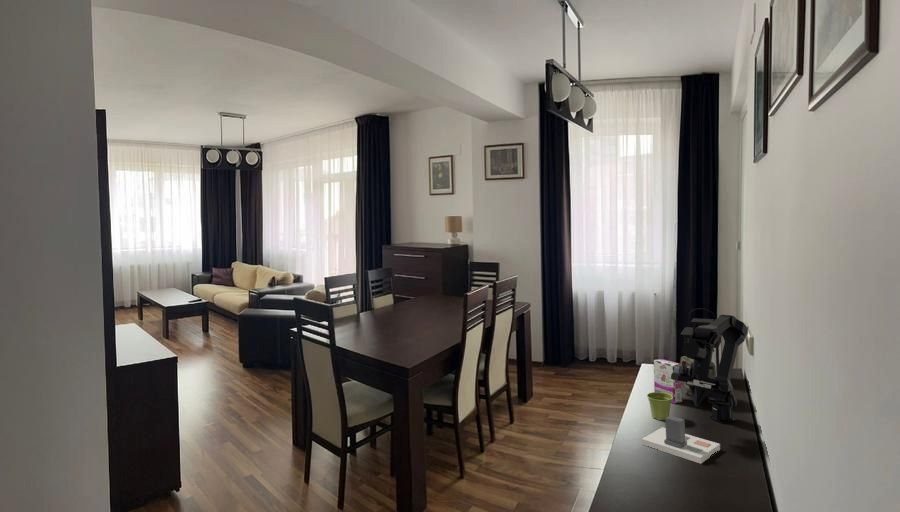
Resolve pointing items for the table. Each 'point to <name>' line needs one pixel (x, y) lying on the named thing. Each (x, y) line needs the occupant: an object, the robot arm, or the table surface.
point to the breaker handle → (675, 432)
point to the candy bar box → (667, 379)
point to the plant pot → (660, 404)
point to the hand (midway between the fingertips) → (696, 405)
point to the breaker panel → (692, 450)
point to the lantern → (717, 346)
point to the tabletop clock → (687, 362)
